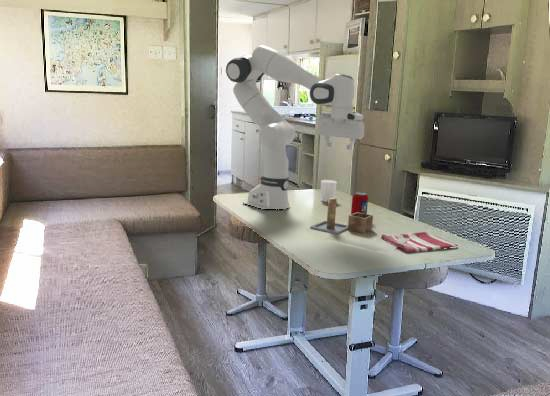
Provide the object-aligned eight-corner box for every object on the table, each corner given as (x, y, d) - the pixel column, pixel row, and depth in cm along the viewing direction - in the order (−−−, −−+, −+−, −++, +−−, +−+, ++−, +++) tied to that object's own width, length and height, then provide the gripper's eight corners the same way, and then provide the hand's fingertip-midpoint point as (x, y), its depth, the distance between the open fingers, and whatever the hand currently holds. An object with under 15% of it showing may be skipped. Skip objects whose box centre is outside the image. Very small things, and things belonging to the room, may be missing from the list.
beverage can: (365, 222, 216) (368, 195, 214) (350, 221, 217) (352, 193, 215) (366, 218, 223) (368, 192, 220) (350, 217, 224) (353, 190, 221)
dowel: (325, 228, 203) (327, 198, 200) (328, 226, 205) (330, 197, 203) (332, 229, 201) (334, 200, 198) (335, 227, 204) (338, 198, 201)
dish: (310, 229, 201) (310, 226, 201) (324, 223, 211) (324, 220, 211) (337, 235, 195) (337, 232, 195) (350, 229, 205) (350, 226, 205)
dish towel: (379, 240, 193) (379, 234, 193) (429, 236, 202) (429, 230, 201) (405, 254, 178) (406, 247, 177) (458, 250, 187) (459, 243, 186)
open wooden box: (347, 231, 202) (348, 215, 200) (355, 227, 208) (356, 212, 206) (364, 235, 198) (365, 218, 196) (371, 231, 204) (373, 215, 202)
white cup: (321, 198, 259) (323, 179, 257) (336, 200, 257) (338, 180, 255) (318, 201, 252) (319, 181, 250) (333, 203, 250) (335, 183, 248)
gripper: (315, 112, 211) (313, 146, 214) (360, 116, 200) (357, 151, 203) (322, 112, 216) (320, 145, 219) (367, 116, 205) (364, 150, 208)
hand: (338, 148), depth 211 cm, fingers open, 8 cm apart
